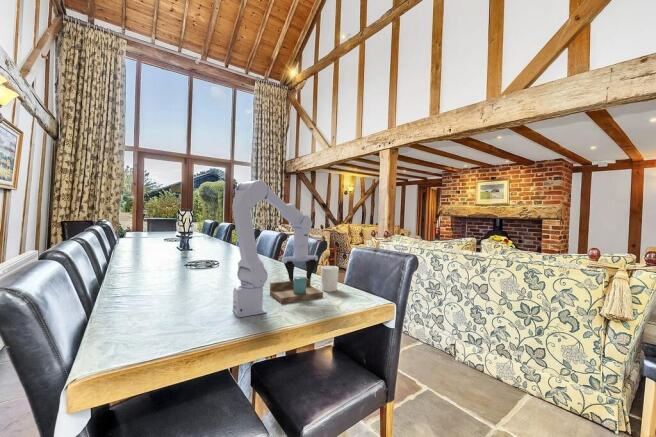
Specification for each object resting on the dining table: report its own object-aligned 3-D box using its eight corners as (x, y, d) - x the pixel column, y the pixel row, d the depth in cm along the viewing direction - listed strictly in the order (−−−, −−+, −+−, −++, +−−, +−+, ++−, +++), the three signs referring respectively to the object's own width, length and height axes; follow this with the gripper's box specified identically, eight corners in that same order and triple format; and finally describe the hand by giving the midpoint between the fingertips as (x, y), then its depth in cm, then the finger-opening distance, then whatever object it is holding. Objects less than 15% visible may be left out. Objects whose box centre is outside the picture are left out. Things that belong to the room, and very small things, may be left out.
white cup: (338, 287, 129) (339, 266, 129) (337, 292, 121) (338, 269, 121) (321, 286, 130) (322, 265, 130) (319, 291, 122) (319, 268, 122)
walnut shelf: (281, 303, 105) (281, 290, 105) (269, 294, 115) (270, 282, 115) (322, 297, 115) (323, 284, 114) (309, 289, 125) (309, 278, 125)
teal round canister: (296, 295, 109) (297, 280, 109) (291, 292, 113) (291, 277, 113) (308, 293, 112) (308, 278, 111) (302, 290, 116) (302, 276, 116)
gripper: (288, 247, 105) (287, 283, 105) (321, 245, 112) (320, 280, 113) (280, 245, 111) (279, 279, 111) (313, 243, 118) (312, 276, 119)
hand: (299, 279), depth 112 cm, fingers open, 7 cm apart
